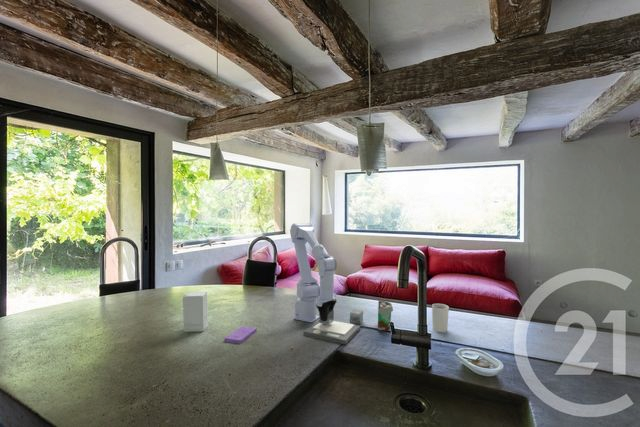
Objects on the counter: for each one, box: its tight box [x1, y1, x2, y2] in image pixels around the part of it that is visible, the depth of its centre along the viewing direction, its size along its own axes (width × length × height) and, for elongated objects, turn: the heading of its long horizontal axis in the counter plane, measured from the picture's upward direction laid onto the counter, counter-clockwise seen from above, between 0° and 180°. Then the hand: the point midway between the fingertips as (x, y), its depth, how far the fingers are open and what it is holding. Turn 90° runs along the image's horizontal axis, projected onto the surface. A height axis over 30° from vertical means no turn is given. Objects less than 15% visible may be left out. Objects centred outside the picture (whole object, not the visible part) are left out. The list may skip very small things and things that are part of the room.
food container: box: [377, 299, 394, 333], centre depth 131 cm, size 12×6×10 cm, turn 168°
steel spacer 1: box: [318, 309, 335, 325], centre depth 128 cm, size 4×4×5 cm
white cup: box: [431, 303, 450, 333], centre depth 129 cm, size 7×7×10 cm
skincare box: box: [182, 291, 209, 333], centre depth 126 cm, size 8×6×15 cm
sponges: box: [223, 326, 258, 344], centre depth 121 cm, size 7×13×2 cm, turn 163°
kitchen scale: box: [303, 320, 361, 345], centre depth 125 cm, size 18×16×2 cm
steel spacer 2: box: [349, 308, 364, 326], centre depth 137 cm, size 4×4×5 cm
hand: (326, 318), depth 128 cm, fingers closed on steel spacer 1, 4 cm apart
